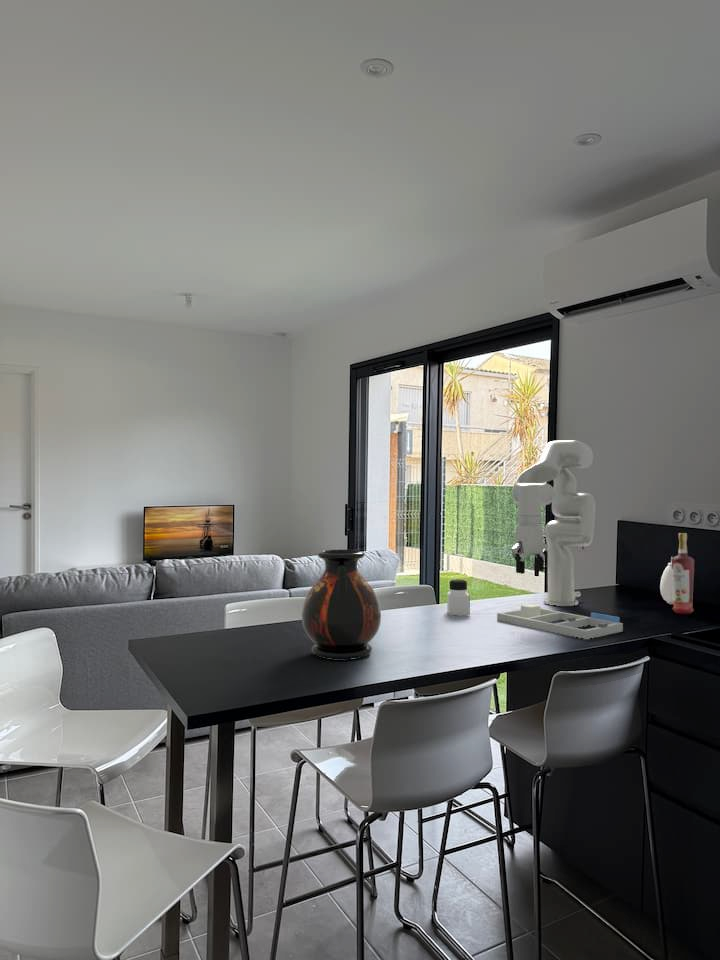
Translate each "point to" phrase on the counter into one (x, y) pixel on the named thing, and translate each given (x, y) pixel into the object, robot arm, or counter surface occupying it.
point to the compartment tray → (565, 623)
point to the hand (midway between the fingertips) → (530, 571)
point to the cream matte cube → (530, 610)
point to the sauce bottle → (667, 584)
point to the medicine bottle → (458, 598)
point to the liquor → (683, 578)
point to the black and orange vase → (341, 608)
